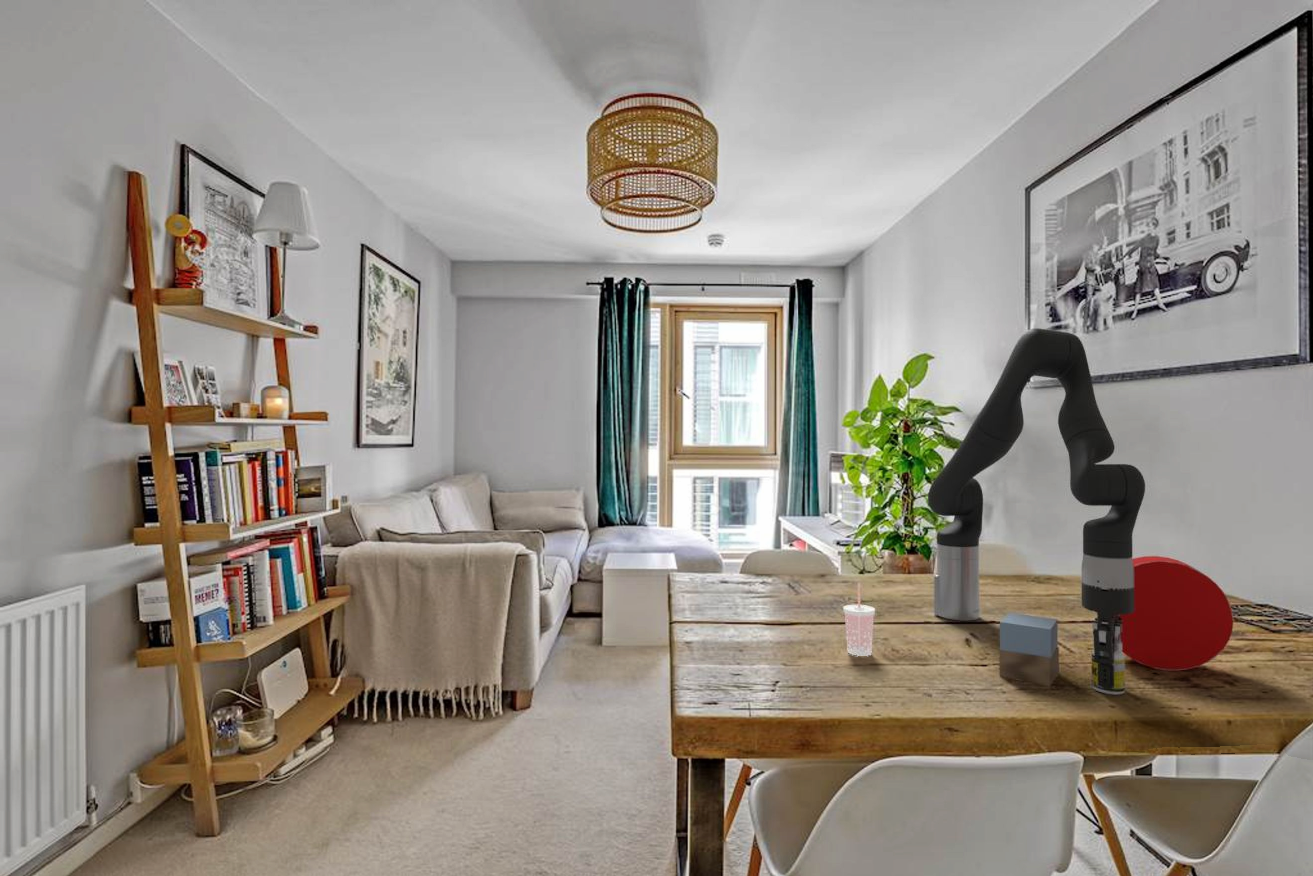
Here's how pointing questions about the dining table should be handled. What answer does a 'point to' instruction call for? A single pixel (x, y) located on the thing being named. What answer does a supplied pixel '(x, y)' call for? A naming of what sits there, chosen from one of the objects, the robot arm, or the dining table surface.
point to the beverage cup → (859, 628)
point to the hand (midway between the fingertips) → (1108, 681)
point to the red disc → (1175, 616)
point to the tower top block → (1029, 634)
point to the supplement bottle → (1118, 673)
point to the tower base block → (1029, 667)
